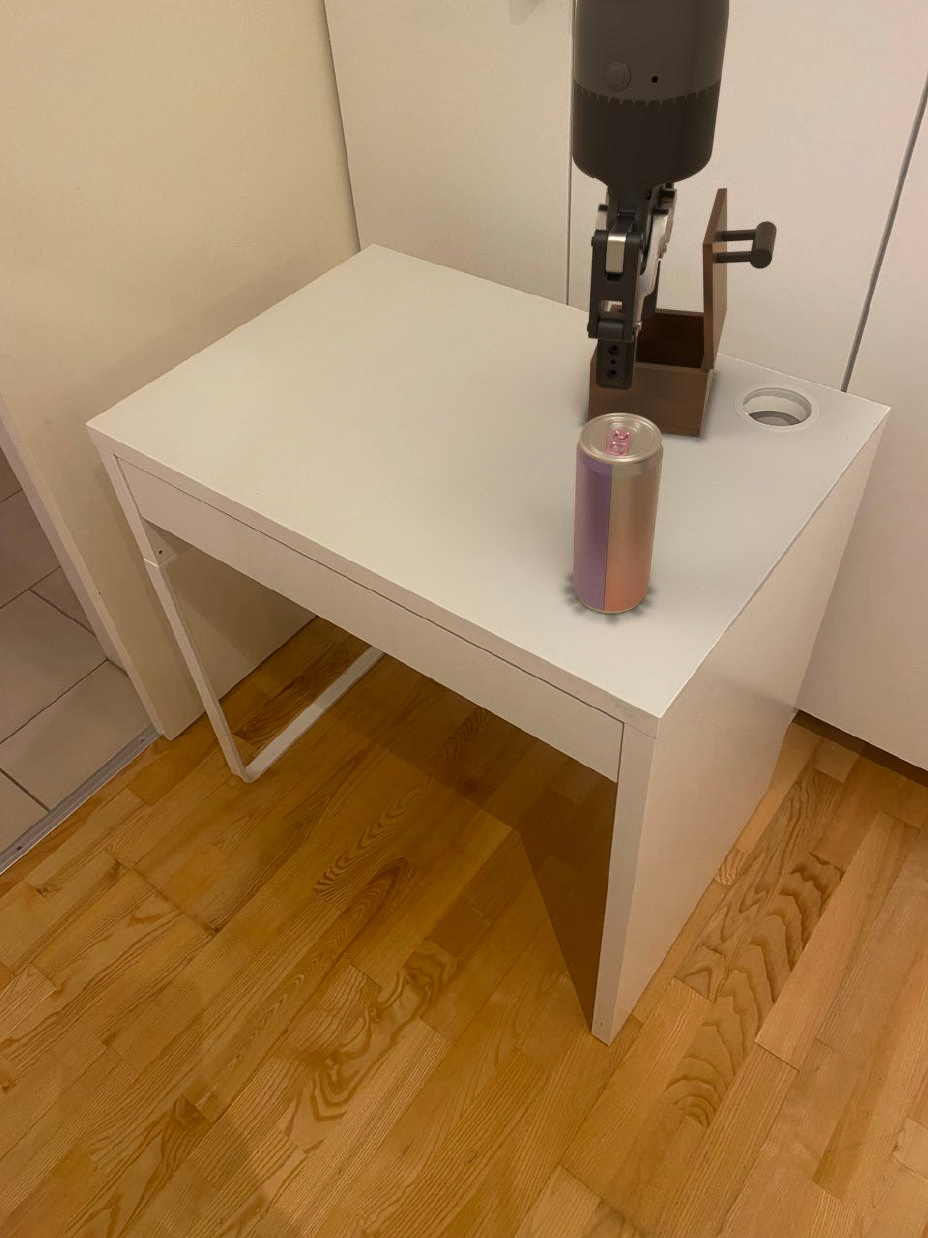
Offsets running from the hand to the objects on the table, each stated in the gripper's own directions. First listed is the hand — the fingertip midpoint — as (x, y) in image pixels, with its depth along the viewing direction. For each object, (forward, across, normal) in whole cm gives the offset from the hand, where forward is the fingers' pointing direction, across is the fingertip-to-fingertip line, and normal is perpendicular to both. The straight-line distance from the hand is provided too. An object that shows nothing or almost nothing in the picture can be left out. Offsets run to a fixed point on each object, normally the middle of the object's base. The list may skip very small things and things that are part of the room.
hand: (626, 348), depth 61 cm
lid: (+9, +27, -3) cm, 29 cm away
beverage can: (+22, 0, 0) cm, 22 cm away
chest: (+22, +27, +1) cm, 35 cm away
